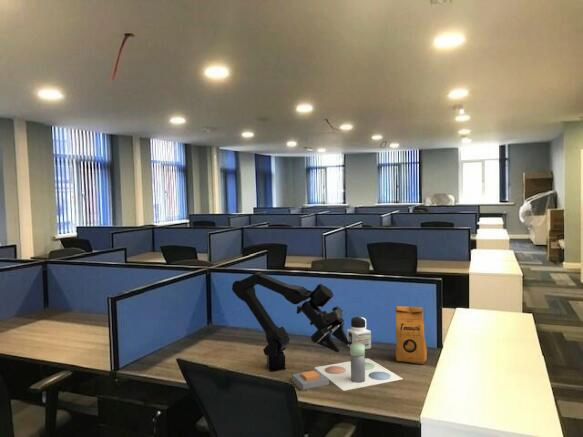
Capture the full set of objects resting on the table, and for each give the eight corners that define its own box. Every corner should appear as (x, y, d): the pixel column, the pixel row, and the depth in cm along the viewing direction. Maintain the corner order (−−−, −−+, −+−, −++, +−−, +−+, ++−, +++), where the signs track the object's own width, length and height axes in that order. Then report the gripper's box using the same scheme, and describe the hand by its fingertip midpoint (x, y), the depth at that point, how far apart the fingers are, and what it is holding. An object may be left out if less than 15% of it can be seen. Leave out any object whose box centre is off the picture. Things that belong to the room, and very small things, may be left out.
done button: (306, 383, 167) (306, 377, 166) (301, 378, 171) (301, 372, 171) (319, 381, 168) (319, 375, 168) (313, 376, 173) (313, 370, 173)
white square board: (343, 392, 161) (343, 390, 161) (314, 369, 184) (314, 367, 184) (403, 381, 170) (403, 378, 170) (368, 360, 192) (368, 357, 192)
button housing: (303, 391, 163) (302, 384, 163) (292, 381, 173) (292, 374, 173) (329, 386, 167) (329, 379, 167) (317, 376, 176) (317, 370, 176)
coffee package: (425, 366, 184) (425, 310, 183) (393, 363, 188) (392, 308, 187) (428, 358, 193) (428, 304, 192) (397, 355, 198) (397, 302, 197)
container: (356, 351, 204) (355, 321, 203) (347, 346, 211) (346, 317, 211) (371, 348, 207) (370, 318, 207) (361, 343, 214) (361, 314, 214)
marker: (355, 383, 167) (354, 348, 166) (348, 378, 172) (347, 344, 171) (368, 381, 169) (367, 346, 168) (360, 376, 174) (360, 342, 173)
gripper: (318, 306, 166) (348, 341, 161) (338, 295, 182) (366, 327, 177) (298, 326, 170) (327, 361, 165) (320, 314, 186) (347, 345, 181)
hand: (343, 347), depth 172 cm, fingers open, 9 cm apart
